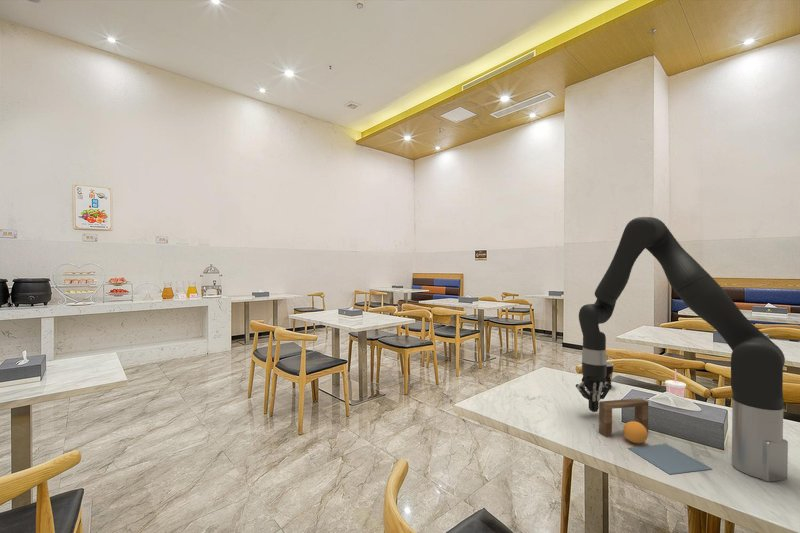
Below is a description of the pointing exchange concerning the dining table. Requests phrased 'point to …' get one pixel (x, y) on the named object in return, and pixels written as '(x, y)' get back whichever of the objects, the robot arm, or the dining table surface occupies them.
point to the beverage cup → (675, 386)
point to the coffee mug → (609, 372)
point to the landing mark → (669, 459)
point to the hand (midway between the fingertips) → (593, 411)
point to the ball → (635, 432)
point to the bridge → (607, 407)
